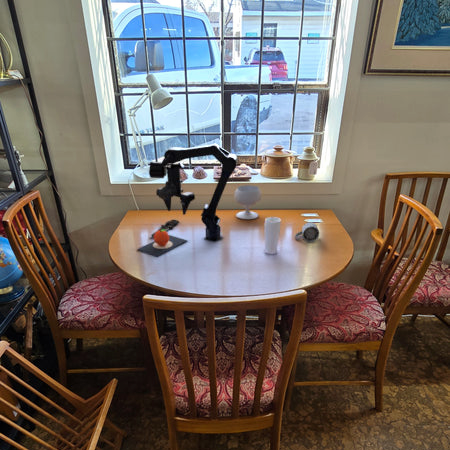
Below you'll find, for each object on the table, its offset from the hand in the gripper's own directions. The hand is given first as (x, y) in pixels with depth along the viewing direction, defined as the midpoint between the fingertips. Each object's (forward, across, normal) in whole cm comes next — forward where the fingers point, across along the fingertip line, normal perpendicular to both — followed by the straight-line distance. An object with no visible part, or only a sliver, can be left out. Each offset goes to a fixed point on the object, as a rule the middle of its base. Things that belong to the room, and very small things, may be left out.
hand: (176, 212), depth 171 cm
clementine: (+12, +1, -12) cm, 17 cm away
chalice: (+12, +12, +43) cm, 46 cm away
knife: (+12, -11, +2) cm, 17 cm away
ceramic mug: (+12, +52, +32) cm, 62 cm away
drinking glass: (+12, +45, +10) cm, 48 cm away
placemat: (+12, +1, -12) cm, 17 cm away
